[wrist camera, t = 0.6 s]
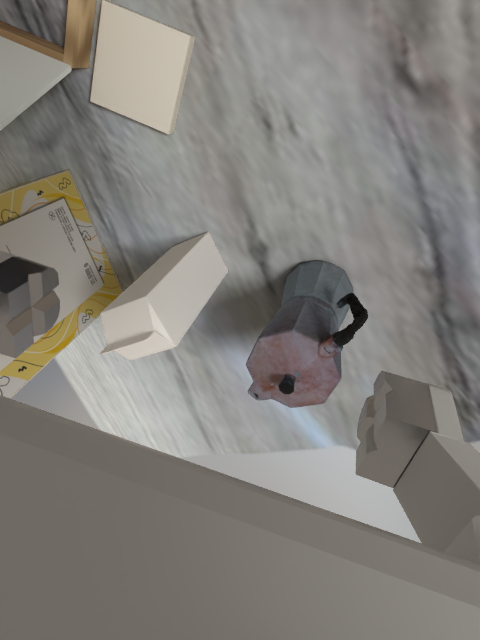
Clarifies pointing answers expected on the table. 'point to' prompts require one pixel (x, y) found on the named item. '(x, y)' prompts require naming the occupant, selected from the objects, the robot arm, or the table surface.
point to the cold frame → (75, 38)
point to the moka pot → (305, 337)
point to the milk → (163, 300)
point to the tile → (140, 67)
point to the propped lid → (25, 78)
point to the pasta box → (55, 265)
